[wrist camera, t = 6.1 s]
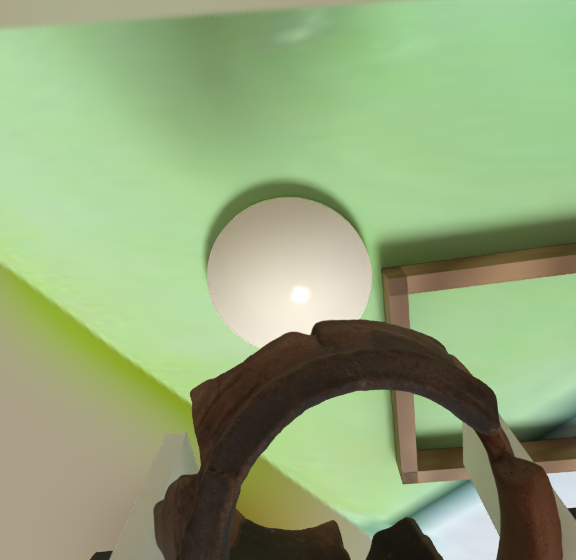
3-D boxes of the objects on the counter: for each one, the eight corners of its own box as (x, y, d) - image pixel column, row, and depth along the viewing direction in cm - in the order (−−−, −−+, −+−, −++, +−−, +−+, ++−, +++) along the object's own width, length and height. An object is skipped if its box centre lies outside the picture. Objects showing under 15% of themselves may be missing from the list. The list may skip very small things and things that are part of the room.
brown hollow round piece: (130, 435, 14) (-10, 575, 6) (317, 272, 16) (409, 206, 8) (344, 687, 14) (510, 1197, 6) (505, 491, 16) (800, 657, 8)
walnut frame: (748, 219, 23) (787, 227, 21) (690, 439, 29) (716, 460, 27) (381, 268, 25) (387, 279, 24) (397, 463, 31) (402, 484, 29)
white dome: (362, 183, 24) (364, 185, 23) (375, 337, 27) (378, 344, 26) (193, 210, 25) (189, 213, 24) (229, 354, 28) (226, 361, 27)
